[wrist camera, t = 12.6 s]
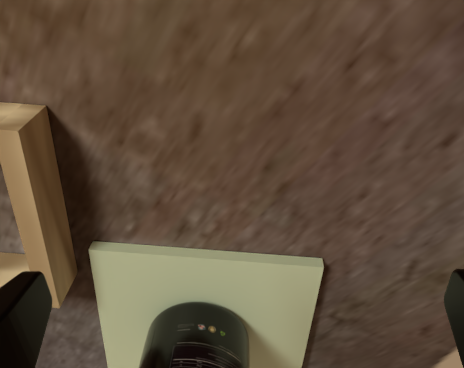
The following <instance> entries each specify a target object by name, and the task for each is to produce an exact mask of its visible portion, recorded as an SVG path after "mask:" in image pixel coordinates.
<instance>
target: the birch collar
mask: <svg viewBox="0 0 464 368" xmlns="http://www.w3.org/2000/svg"><path fill="white" fill-rule="evenodd" d="M0 163H1V167H2V170H3V174H4V178H5V181H6V185H7V189H8V192H9V196H10V200H11V203H12V207H13V211H14V215H15V218H16V222H17V226H18V229H19V233H20V237H21V240H22V244H23V248H24V251H25V254H16V253H3V252H0V287H2V286H3V285H4V284H6V283H7V282H8V281H10V280H11V279H13V278H14V277H15V276H17V275H18V274H20V273H21V272H24V271H40V272H42V273H43V274H44V276H45V279H46V281H47V284H48V287H49V290H50V293H51V295H52V307H53V308H60V306H61V304H62V302H63V300H64V298H65V296H66V294H67V292H68V291H69V289H70V287H71V285H72V283H73V281H74V279H75V277H76V275H77V273H78V270H77V265H76V260H75V254H74V249H73V244H72V238H71V233H70V228H69V223H68V217H67V212H66V207H65V202H64V196H63V191H62V186H61V181H60V175H59V170H58V165H57V160H56V154H55V149H54V144H53V139H52V133H51V128H50V123H49V117H48V112H47V107H46V106H45V105H31V104H16V103H2V102H0Z"/></svg>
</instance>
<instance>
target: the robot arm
mask: <svg viewBox="0 0 464 368" xmlns="http://www.w3.org/2000/svg"><path fill="white" fill-rule="evenodd" d="M444 305H445V309H446V312H447V315H448V319H449V322H450V325H451V329H452V332H453V335H454V339H455V342H456V345H457V349H458V352H459V355H460V359H461V362H462V365H463V368H464V269H456V270H454V271H453V272H452V274H451V277H450V280H449V283H448V286H447V289H446V292H445V296H444ZM51 308H52V295H51V293H50V290H49V287H48V284H47V281H46V279H45V276H44V274H43V273H42V272H40V271H24V272H21V273H20V274H18V275H17V276H15V277H14V278H13V279H11V280H10V281H8V282H7V283H6V284H4V285H3V286H2V287H0V368H35V366H36V362H37V359H38V355H39V352H40V348H41V344H42V341H43V337H44V334H45V330H46V326H47V323H48V319H49V316H50V312H51Z"/></svg>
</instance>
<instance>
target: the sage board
mask: <svg viewBox="0 0 464 368" xmlns="http://www.w3.org/2000/svg"><path fill="white" fill-rule="evenodd" d="M89 256H90V262H91V268H92V274H93V281H94V287H95V293H96V299H97V305H98V311H99V317H100V323H101V329H102V335H103V341H104V347H105V353H106V359H107V365H108V368H139V364H140V360H141V356H142V352H143V348H144V344H145V341H146V337H147V334H148V330H149V328H150V325H151V323H152V322H153V320H154V319H155V318H156V316H157V315H159V314H160V313H161V312H162V311H164V310H165V309H167V308H169V307H171V306H173V305H176V304H180V303H185V302H205V303H211V304H215V305H218V306H220V307H223V308H225V309H227V310H229V311H230V312H232V313H233V314H234V315H236V316H237V317H238V318H239V319H240V320H241V322H242V323H243V324H244V326H245V328H246V330H247V332H248V336H249V353H250V368H302V363H303V359H304V355H305V350H306V346H307V341H308V337H309V332H310V328H311V323H312V319H313V314H314V310H315V305H316V301H317V296H318V292H319V287H320V283H321V278H322V274H323V269H324V265H323V260H322V258H311V257H298V256H285V255H271V254H258V253H245V252H231V251H218V250H205V249H191V248H178V247H165V246H151V245H138V244H125V243H111V242H98V241H93V242H92V244H91V246H90V248H89Z"/></svg>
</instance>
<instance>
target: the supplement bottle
mask: <svg viewBox="0 0 464 368" xmlns="http://www.w3.org/2000/svg"><path fill="white" fill-rule="evenodd" d="M139 368H250V353H249V336H248V332H247V330H246V328H245V326H244V324H243V323H242V322H241V320H240V319H239V318H238V317H237V316H236V315H234V314H233V313H232V312H230V311H229V310H227V309H225V308H223V307H220V306H218V305H215V304H211V303H205V302H185V303H180V304H176V305H173V306H171V307H169V308H167V309H165V310H164V311H162V312H161V313H160V314H159V315H157V316H156V318H155V319H154V320H153V322H152V323H151V325H150V328H149V330H148V334H147V337H146V341H145V344H144V348H143V352H142V356H141V360H140V364H139Z"/></svg>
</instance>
